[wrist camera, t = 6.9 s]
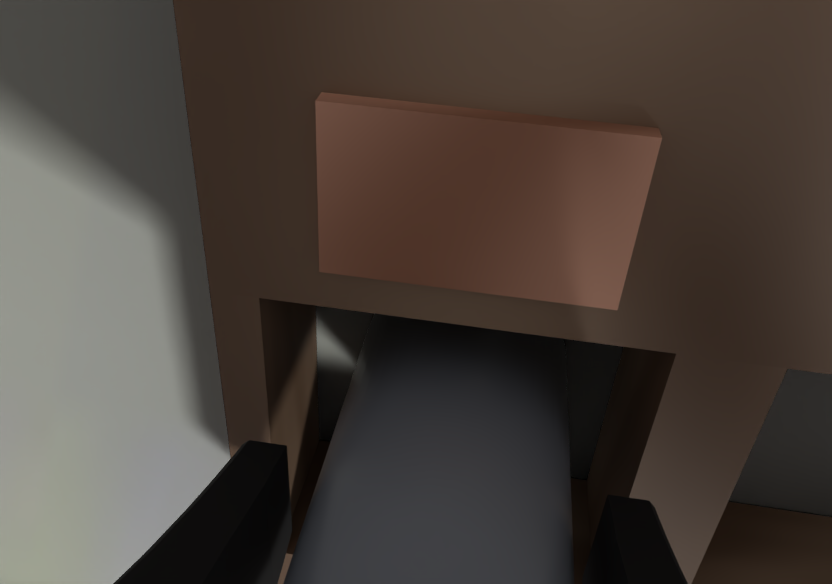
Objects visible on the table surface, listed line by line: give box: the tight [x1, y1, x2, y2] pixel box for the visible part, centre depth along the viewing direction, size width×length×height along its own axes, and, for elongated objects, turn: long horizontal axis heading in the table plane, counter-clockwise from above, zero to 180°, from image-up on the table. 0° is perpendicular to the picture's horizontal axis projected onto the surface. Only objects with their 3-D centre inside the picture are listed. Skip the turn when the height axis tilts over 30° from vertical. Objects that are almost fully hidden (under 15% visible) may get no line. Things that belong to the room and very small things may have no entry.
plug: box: [283, 314, 574, 584], centre depth 11 cm, size 4×4×9 cm
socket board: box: [173, 0, 832, 584], centre depth 12 cm, size 15×14×3 cm
